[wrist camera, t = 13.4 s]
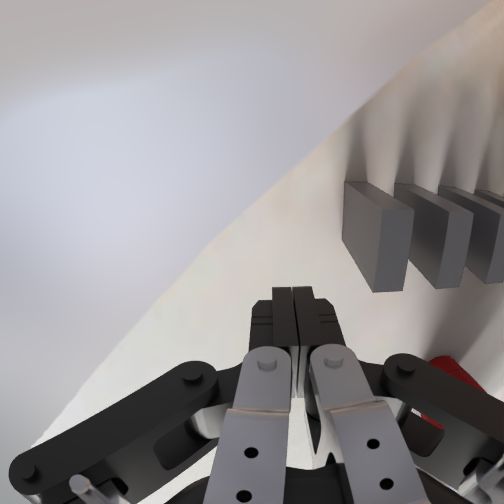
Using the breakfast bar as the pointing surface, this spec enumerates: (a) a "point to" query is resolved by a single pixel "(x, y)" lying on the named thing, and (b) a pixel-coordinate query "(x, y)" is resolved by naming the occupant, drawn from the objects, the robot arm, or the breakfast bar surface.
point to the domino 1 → (377, 235)
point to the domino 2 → (437, 235)
